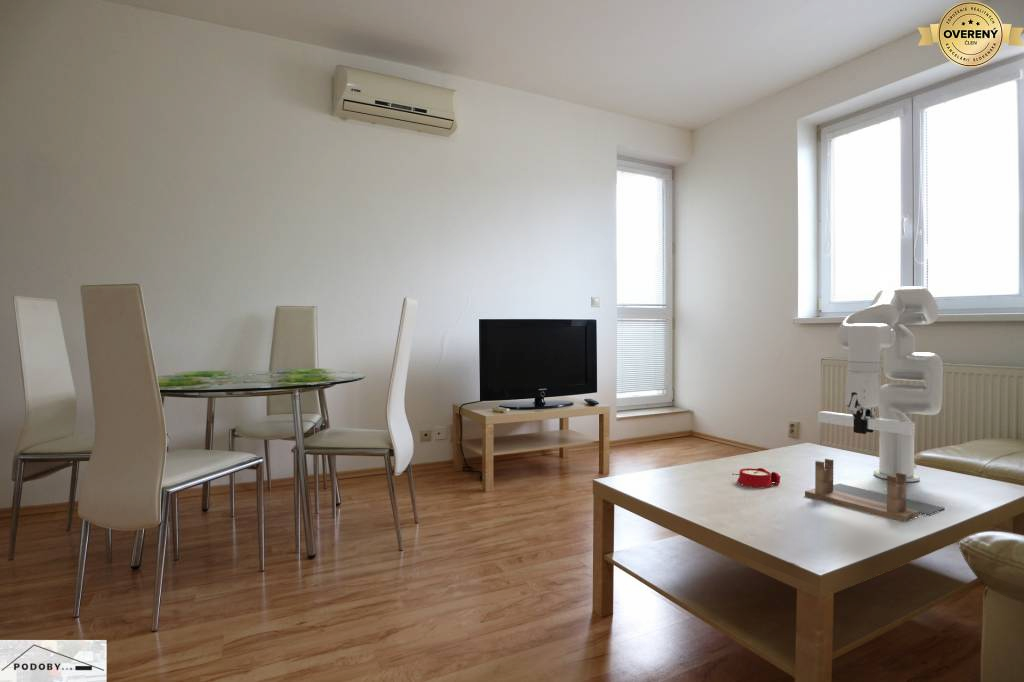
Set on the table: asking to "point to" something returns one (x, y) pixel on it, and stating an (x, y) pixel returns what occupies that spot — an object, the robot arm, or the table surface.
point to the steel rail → (868, 422)
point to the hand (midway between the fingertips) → (863, 431)
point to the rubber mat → (881, 497)
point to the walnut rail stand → (891, 509)
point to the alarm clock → (757, 477)
